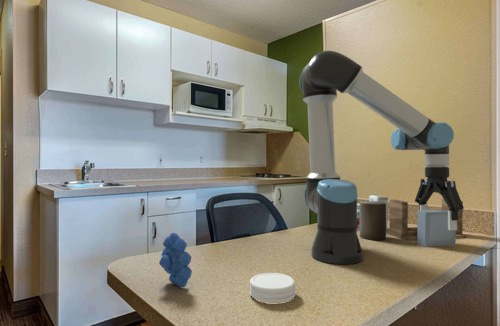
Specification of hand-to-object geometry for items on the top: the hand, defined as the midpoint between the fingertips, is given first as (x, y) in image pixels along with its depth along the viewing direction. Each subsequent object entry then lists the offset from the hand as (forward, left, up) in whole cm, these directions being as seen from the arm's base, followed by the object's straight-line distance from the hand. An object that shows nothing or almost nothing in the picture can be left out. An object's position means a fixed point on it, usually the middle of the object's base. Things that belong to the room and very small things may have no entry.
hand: (437, 225), depth 113 cm
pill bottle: (-15, +27, -7) cm, 32 cm away
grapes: (-90, -25, -7) cm, 94 cm away
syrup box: (-6, +27, -7) cm, 29 cm away
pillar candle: (-17, +13, -7) cm, 23 cm away
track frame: (+6, +13, -7) cm, 16 cm away
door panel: (0, 0, -7) cm, 7 cm away
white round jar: (-68, -33, -7) cm, 76 cm away
